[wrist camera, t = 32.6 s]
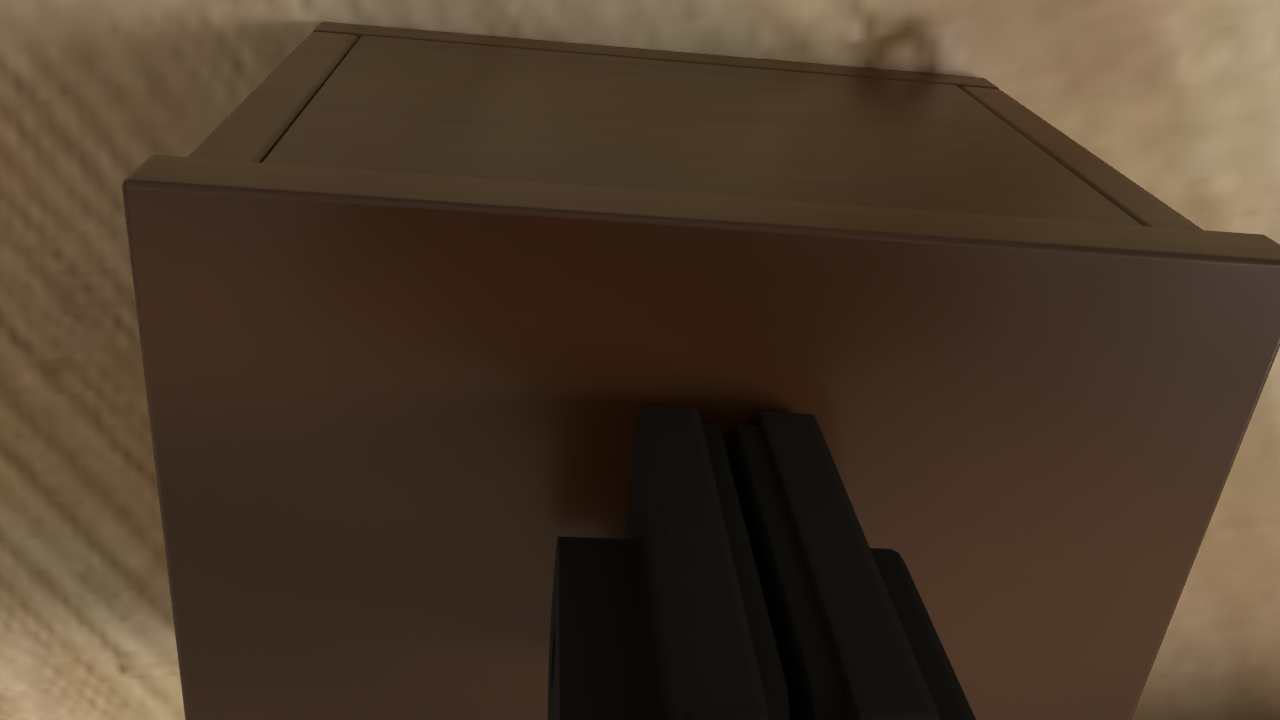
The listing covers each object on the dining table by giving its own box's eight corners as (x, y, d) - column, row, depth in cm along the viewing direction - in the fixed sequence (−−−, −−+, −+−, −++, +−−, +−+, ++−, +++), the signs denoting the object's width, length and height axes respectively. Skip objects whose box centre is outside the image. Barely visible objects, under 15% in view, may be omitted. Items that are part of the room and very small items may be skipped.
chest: (320, 20, 17) (153, 184, 10) (986, 77, 18) (1255, 260, 11) (341, 653, 22) (244, 1037, 15) (846, 667, 23) (965, 1033, 16)
